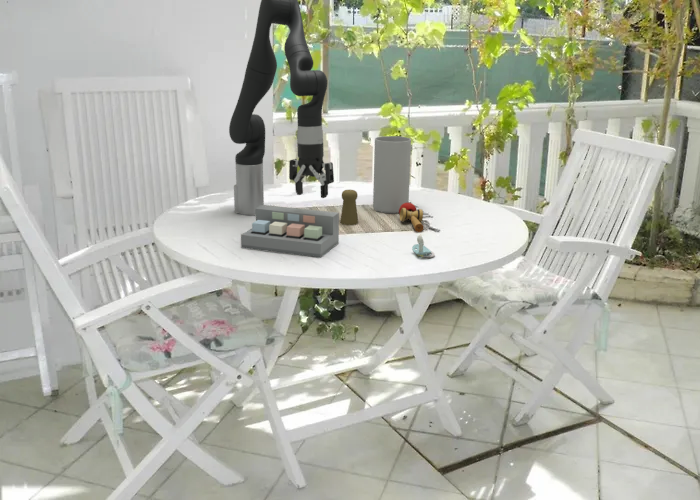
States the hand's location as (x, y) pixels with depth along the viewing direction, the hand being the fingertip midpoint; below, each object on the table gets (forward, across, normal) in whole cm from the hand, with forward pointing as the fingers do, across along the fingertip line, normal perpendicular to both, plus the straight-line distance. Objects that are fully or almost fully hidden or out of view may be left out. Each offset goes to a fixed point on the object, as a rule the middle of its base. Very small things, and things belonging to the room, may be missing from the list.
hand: (311, 196), depth 223 cm
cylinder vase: (+15, 0, +49) cm, 51 cm away
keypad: (+14, -4, -6) cm, 16 cm away
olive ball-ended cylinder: (+15, -3, +26) cm, 30 cm away
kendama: (+15, +15, +36) cm, 42 cm away
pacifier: (+16, +33, +8) cm, 37 cm away
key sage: (+11, +5, -7) cm, 14 cm away
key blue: (+11, -12, -10) cm, 19 cm away
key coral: (+11, -1, -8) cm, 14 cm away
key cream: (+11, -6, -9) cm, 15 cm away
